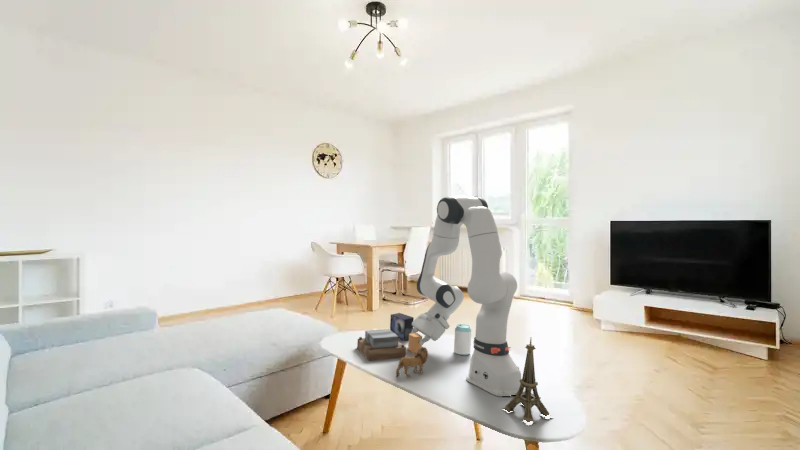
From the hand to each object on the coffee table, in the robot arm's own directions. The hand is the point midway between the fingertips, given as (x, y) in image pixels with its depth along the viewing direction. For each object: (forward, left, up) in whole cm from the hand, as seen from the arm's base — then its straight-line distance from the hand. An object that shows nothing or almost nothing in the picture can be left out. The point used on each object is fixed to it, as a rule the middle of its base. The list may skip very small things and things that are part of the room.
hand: (415, 340), depth 167 cm
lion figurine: (-22, +12, -5) cm, 26 cm away
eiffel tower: (-60, -9, -5) cm, 61 cm away
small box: (+20, -2, -5) cm, 21 cm away
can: (-8, -19, -5) cm, 21 cm away
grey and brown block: (+2, +15, -5) cm, 16 cm away
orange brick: (0, 0, -5) cm, 5 cm away
